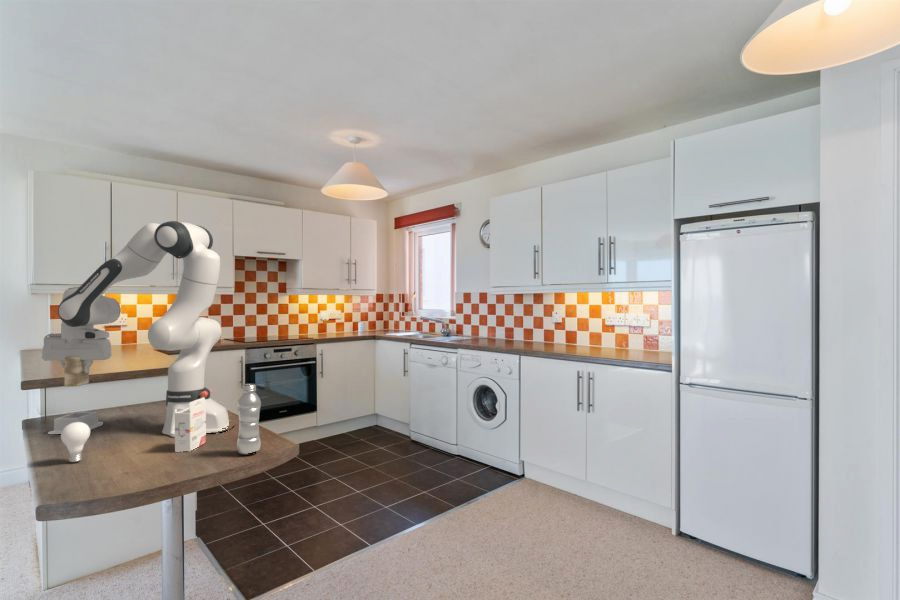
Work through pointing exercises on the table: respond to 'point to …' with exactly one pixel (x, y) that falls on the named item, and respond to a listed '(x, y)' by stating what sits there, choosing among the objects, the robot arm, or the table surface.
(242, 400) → the plastic bottle
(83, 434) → the lightbulb
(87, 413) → the cartridge dock
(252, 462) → the table surface
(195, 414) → the ink cartridge box
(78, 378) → the birch peg block
